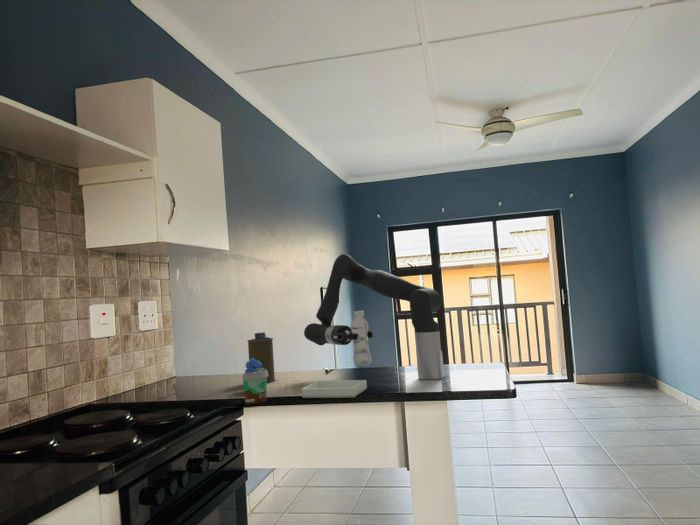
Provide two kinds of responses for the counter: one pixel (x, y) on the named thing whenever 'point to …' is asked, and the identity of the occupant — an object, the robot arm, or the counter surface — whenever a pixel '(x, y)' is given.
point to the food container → (255, 386)
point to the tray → (334, 389)
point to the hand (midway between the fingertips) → (364, 335)
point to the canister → (263, 353)
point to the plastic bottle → (361, 340)
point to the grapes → (253, 366)
